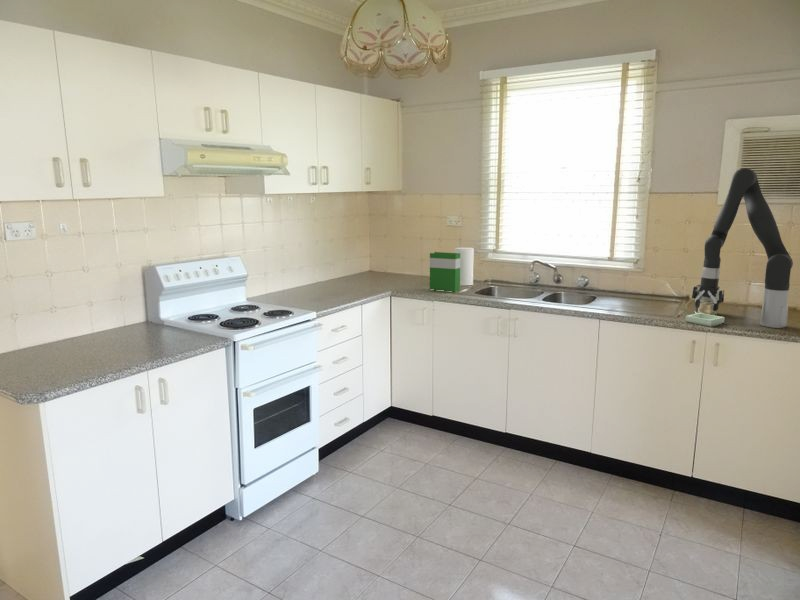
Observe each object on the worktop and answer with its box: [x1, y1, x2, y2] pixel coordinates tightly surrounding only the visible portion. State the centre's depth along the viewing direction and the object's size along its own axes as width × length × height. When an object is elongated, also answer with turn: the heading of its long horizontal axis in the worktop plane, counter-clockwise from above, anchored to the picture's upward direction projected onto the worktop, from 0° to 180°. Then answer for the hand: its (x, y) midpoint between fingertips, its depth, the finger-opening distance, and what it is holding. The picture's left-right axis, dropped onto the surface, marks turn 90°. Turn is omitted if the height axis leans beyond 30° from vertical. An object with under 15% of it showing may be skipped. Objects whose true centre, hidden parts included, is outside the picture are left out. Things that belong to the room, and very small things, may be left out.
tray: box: [684, 313, 726, 328], centre depth 264 cm, size 12×12×3 cm
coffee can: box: [693, 284, 720, 315], centre depth 283 cm, size 10×10×14 cm
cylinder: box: [454, 246, 475, 286], centre depth 372 cm, size 12×12×25 cm
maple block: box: [699, 303, 716, 316], centre depth 273 cm, size 5×5×7 cm
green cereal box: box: [429, 251, 461, 293], centre depth 351 cm, size 18×7×24 cm, turn 61°
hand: (706, 309), depth 274 cm, fingers open, 8 cm apart
